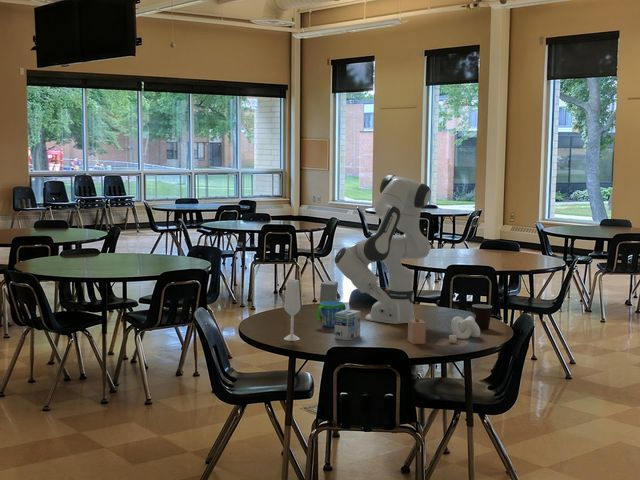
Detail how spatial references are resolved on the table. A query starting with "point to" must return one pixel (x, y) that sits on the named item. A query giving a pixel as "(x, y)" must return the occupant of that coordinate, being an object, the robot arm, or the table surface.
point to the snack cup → (329, 312)
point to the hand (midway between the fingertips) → (389, 306)
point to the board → (446, 343)
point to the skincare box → (328, 291)
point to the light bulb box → (347, 324)
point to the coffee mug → (482, 315)
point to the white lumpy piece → (465, 327)
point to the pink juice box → (416, 331)
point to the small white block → (453, 339)
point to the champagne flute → (292, 304)
